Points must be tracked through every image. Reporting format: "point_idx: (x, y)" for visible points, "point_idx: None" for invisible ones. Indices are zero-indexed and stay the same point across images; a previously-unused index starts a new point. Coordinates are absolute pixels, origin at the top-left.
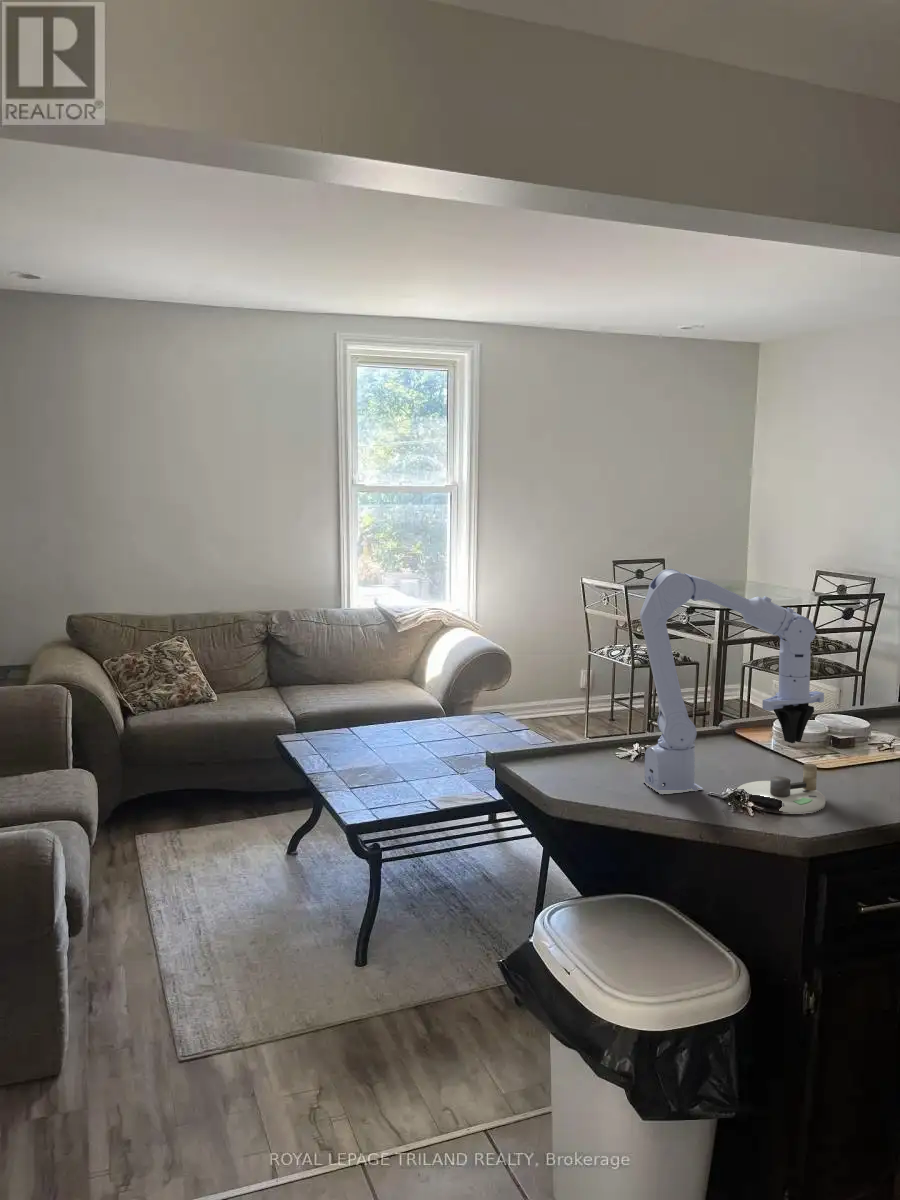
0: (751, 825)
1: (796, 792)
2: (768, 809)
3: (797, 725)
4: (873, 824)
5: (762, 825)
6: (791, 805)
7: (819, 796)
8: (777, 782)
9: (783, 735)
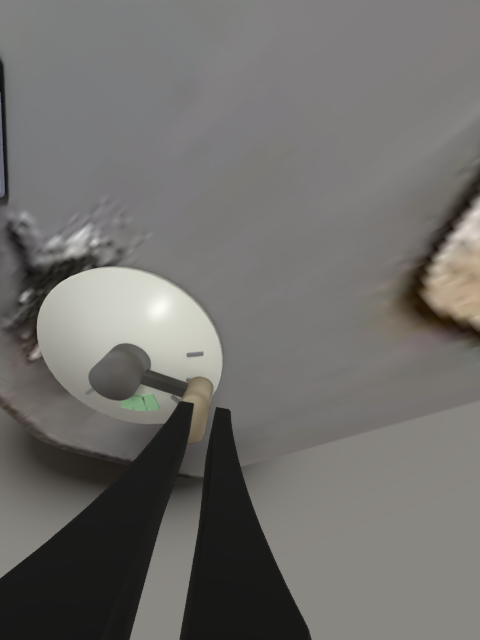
0: (3, 380)
1: (171, 373)
2: None
3: (202, 508)
4: None
5: (22, 390)
6: (105, 398)
7: None
8: (92, 386)
9: (169, 417)
